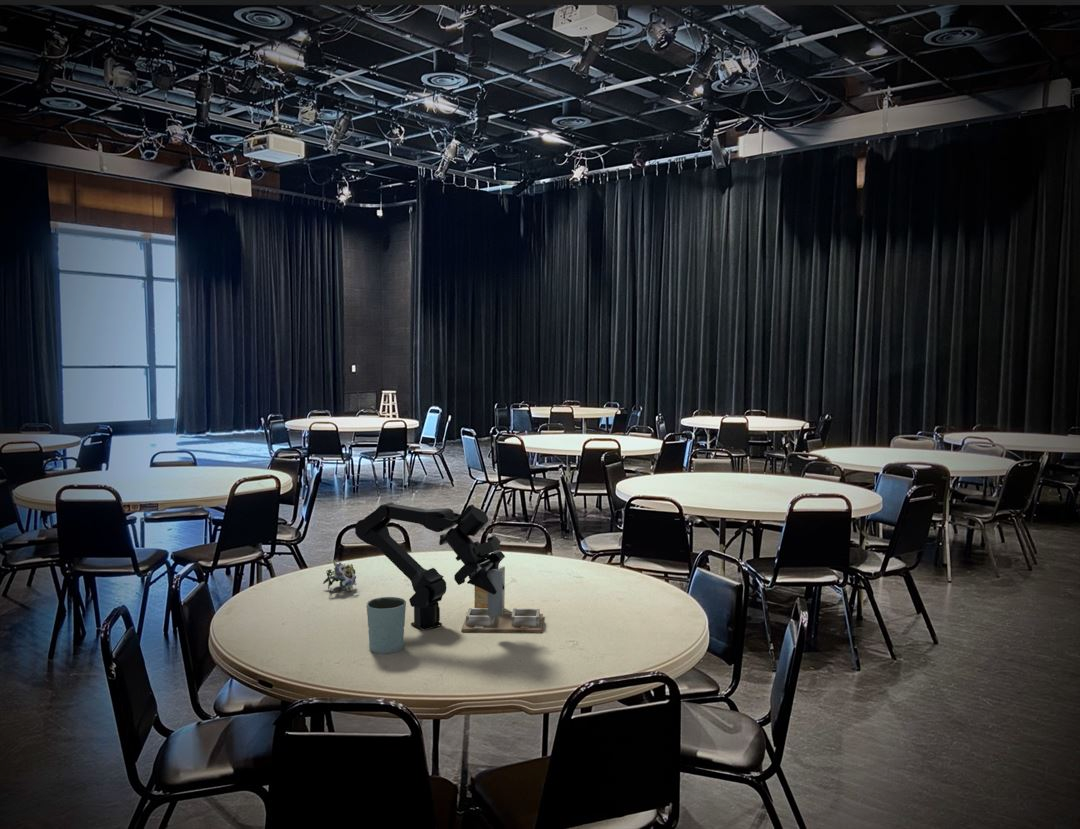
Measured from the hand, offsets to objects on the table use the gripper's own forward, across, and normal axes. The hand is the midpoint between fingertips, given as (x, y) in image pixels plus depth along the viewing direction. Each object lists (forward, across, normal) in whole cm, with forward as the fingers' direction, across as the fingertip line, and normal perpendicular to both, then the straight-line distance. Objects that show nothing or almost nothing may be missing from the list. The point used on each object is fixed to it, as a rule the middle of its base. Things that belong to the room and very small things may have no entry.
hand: (499, 591), depth 211 cm
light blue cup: (-7, -20, +25) cm, 32 cm away
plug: (+4, 0, +6) cm, 7 cm away
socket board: (+6, +10, +12) cm, 17 cm away
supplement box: (-2, +21, +20) cm, 29 cm away
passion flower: (-40, +18, +58) cm, 72 cm away
